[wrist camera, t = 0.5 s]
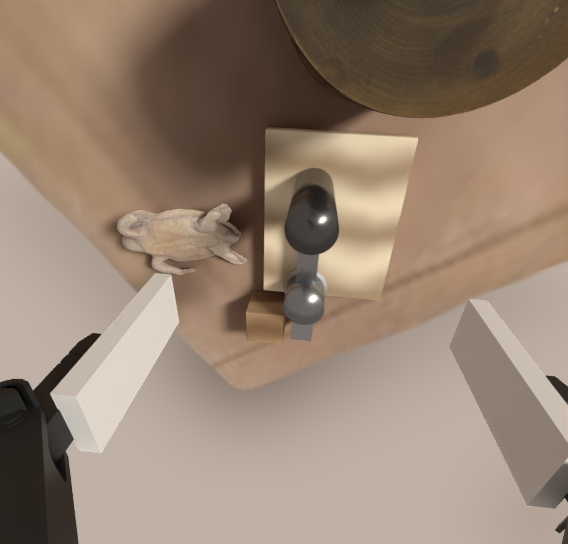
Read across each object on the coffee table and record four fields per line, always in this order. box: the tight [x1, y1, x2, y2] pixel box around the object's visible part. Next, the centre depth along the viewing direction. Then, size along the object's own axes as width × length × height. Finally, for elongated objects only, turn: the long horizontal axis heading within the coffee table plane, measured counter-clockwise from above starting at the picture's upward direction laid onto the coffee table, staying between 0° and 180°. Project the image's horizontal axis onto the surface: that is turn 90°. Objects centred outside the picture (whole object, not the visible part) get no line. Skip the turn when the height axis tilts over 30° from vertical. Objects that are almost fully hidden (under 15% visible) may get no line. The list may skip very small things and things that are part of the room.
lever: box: [283, 168, 339, 341], centre depth 31 cm, size 19×4×11 cm, turn 177°
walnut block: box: [246, 292, 286, 344], centre depth 41 cm, size 4×4×4 cm
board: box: [264, 127, 418, 300], centre depth 35 cm, size 20×14×2 cm
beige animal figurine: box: [117, 204, 247, 275], centre depth 36 cm, size 16×10×10 cm, turn 120°
